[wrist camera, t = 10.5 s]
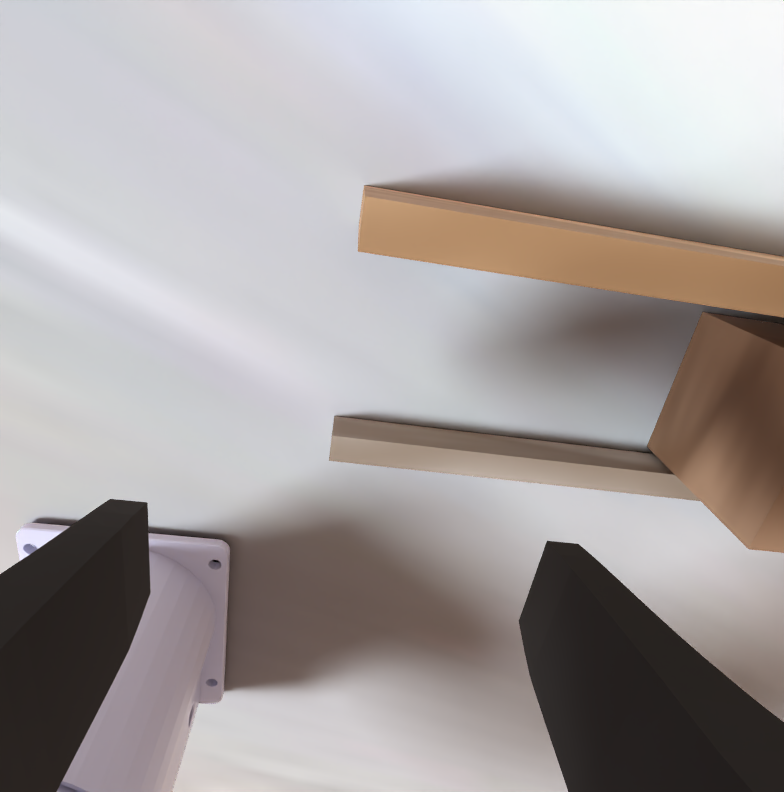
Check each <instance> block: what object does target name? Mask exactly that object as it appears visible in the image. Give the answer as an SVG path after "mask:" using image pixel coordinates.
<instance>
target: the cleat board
mask: <svg viewBox="0 0 784 792" xmlns="http://www.w3.org/2000/svg"><path fill="white" fill-rule="evenodd" d="M358 251H359V252H365V253H371V254H378V255H384V256H391V257H397V258H404V259H410V260H417V261H423V262H429V263H436V264H442V265H449V266H455V267H462V268H468V269H475V270H481V271H487V272H494V273H500V274H507V275H513V276H520V277H526V278H533V279H539V280H545V281H552V282H558V283H565V284H571V285H578V286H584V287H591V288H597V289H604V290H610V291H616V292H623V293H629V294H636V295H642V296H649V297H655V298H662V299H668V300H674V301H681V302H687V303H694V304H700V305H707V306H713V307H720V308H726V309H732V310H739V311H745V312H752V313H758V314H765V315H771V316H778V317H784V257H783V256H777V255H771V254H765V253H759V252H753V251H748V250H742V249H736V248H730V247H724V246H718V245H712V244H706V243H700V242H695V241H689V240H683V239H677V238H671V237H665V236H659V235H653V234H647V233H642V232H636V231H630V230H624V229H618V228H612V227H606V226H600V225H594V224H589V223H583V222H577V221H571V220H565V219H559V218H553V217H547V216H541V215H536V214H530V213H524V212H518V211H512V210H506V209H500V208H494V207H488V206H482V205H477V204H471V203H465V202H459V201H453V200H447V199H441V198H435V197H429V196H424V195H418V194H412V193H406V192H400V191H394V190H388V189H382V188H376V187H371V186H365V185H364V190H363V198H362V205H361V213H360V221H359V235H358ZM329 461H337V462H347V463H356V464H365V465H374V466H383V467H393V468H402V469H411V470H420V471H429V472H439V473H448V474H457V475H466V476H475V477H485V478H494V479H503V480H512V481H521V482H530V483H540V484H549V485H558V486H567V487H576V488H586V489H595V490H604V491H613V492H622V493H632V494H641V495H650V496H659V497H668V498H678V499H687V500H696V501H700V500H699V499H698V498H697V497H696V496H695V495H694V494H693V493H692V492H691V491H690V490H689V489H688V488H687V487H686V485H685V484H684V483H683V482H682V481H681V480H680V479H679V478H678V477H677V476H676V475H675V474H674V473H673V472H672V471H671V470H670V469H669V468H668V467H667V466H666V465H665V464H664V463H663V462H662V461H661V460H660V459H659V458H658V457H657V456H656V455H655V454H650V453H641V452H633V451H625V450H616V449H608V448H599V447H591V446H582V445H574V444H566V443H557V442H549V441H540V440H532V439H523V438H515V437H507V436H498V435H490V434H481V433H473V432H464V431H456V430H447V429H439V428H431V427H422V426H414V425H405V424H397V423H388V422H380V421H372V420H363V419H355V418H346V417H338V416H334V423H333V431H332V439H331V448H330V457H329Z"/></svg>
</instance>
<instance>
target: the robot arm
mask: <svg viewBox="0 0 784 792" xmlns="http://www.w3.org/2000/svg"><path fill="white" fill-rule="evenodd" d="M16 541H17V547H18V553H19V559H20V561H19V562H18V563H16V564H15V565H13V566H12V567H10V568H9V569H7V570H6V571H4V572H3V573H1V574H0V792H172V790H173V787H174V784H175V780H176V777H177V774H178V770H179V767H180V764H181V760H182V757H183V754H184V750H185V747H186V744H187V740H188V737H189V734H190V730H191V727H192V724H193V720H194V717H195V714H196V710H197V707H198V704H199V703H205V704H215V703H218V702H220V701H221V700H222V697H223V693H224V679H225V656H226V633H227V610H228V586H229V563H230V548H229V545H228V544H227V543H226V542H224V541H222V540H218V539H208V538H197V537H186V536H175V535H164V534H152V533H148V508H147V503H146V502H135V501H125V500H114V499H110V500H108V501H107V502H105V503H104V504H102V505H101V506H99V507H98V508H96V509H95V510H93V511H92V512H90V513H89V514H88V515H86V516H85V517H83V518H82V519H80V520H79V521H77V522H76V523H75V524H73V525H72V526H63V525H52V524H41V523H27V524H24V525H23V526H22V527H21V528H20V529H19V530H18V531H17V533H16ZM31 544H33V545H34V546H36V547H33V546H32V545H31ZM212 560H219V561H220V562H221V563H216V562H213V561H212ZM519 624H520V629H521V635H522V640H523V645H524V651H525V655H526V660H527V664H528V669H529V673H530V677H531V681H532V684H533V687H534V690H535V693H536V696H537V699H538V702H539V705H540V708H541V711H542V714H543V717H544V720H545V724H546V726H547V729H548V732H549V735H550V738H551V741H552V744H553V747H554V750H555V753H556V756H557V759H558V762H559V765H560V768H561V771H562V774H563V777H564V780H565V783H566V786H567V789H568V792H784V722H783V721H781V720H780V719H779V718H777V717H776V716H775V715H773V714H772V713H771V712H770V711H768V710H767V709H766V708H764V707H763V706H762V705H761V704H759V703H758V702H757V701H756V700H754V699H753V698H752V697H751V696H749V695H748V694H747V693H746V692H744V691H743V690H742V689H741V688H740V687H738V686H737V685H736V684H735V683H734V682H732V681H731V680H730V679H729V678H728V677H726V676H725V675H724V674H723V673H722V672H721V671H719V670H718V669H717V668H716V667H715V666H713V665H712V664H711V663H710V662H709V661H707V660H706V659H705V658H704V657H703V656H702V655H700V654H699V653H698V652H697V651H696V650H695V649H694V648H692V647H691V646H690V645H689V644H688V643H687V642H686V641H684V640H683V639H682V638H681V637H680V636H679V635H678V634H677V633H676V632H674V631H673V630H672V629H671V628H670V627H669V626H668V625H667V624H666V623H664V622H663V621H662V620H661V619H660V618H659V617H658V616H657V615H656V614H655V613H654V612H652V611H651V610H650V609H649V608H648V607H647V606H646V605H645V604H644V603H643V602H642V601H641V600H639V599H638V598H637V597H636V596H635V595H634V594H633V593H632V592H631V591H630V590H629V589H628V588H627V587H625V586H624V585H623V584H622V583H621V582H620V581H619V580H618V579H617V578H616V577H615V576H614V575H613V574H612V573H610V572H609V571H608V570H607V569H606V568H605V567H604V566H603V565H602V564H601V563H600V562H598V561H597V560H596V559H595V558H594V557H593V556H592V555H591V554H589V553H588V552H587V551H586V550H585V549H583V548H582V547H581V546H580V545H579V544H573V543H563V542H552V541H547V543H546V545H545V548H544V551H543V554H542V557H541V560H540V562H539V565H538V568H537V571H536V574H535V577H534V580H533V582H532V585H531V588H530V591H529V594H528V597H527V599H526V602H525V605H524V608H523V611H522V614H521V617H520V619H519Z"/></svg>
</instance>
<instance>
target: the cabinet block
mask: <svg viewBox="0 0 784 792" xmlns="http://www.w3.org/2000/svg"><path fill="white" fill-rule="evenodd" d="M647 447H648V448H649V449H650V450H651V451H652V452H653V453H654V454H655V455H656V456H657V457H658V458H659V459H660V460H661V461H662V462H663V463H664V464H665V465H666V466H667V467H668V468H669V469H670V470H671V471H672V472H673V473H674V474H675V475H676V476H677V477H678V478H679V479H680V480H681V481H682V482H683V483H684V484H685V485H686V487H687V488H688V489H689V490H690V491H691V492H692V493H693V494H694V495H695V496H696V497H697V498H698V499H699V500H700V501H701V502H702V503H703V504H704V505H705V506H706V507H707V508H708V509H709V510H710V511H711V512H712V513H713V514H714V515H715V516H716V517H717V518H718V519H719V520H720V521H721V522H722V523H723V524H724V525H725V526H726V527H727V528H728V529H729V530H730V531H731V532H732V533H733V534H734V535H735V536H736V537H737V538H738V539H739V540H740V541H741V542H742V543H743V544H744V545H745V546H746V547H747V548H748V549H752V550H762V551H772V552H782V553H784V324H778V323H772V322H765V321H759V320H752V319H746V318H740V317H733V316H727V315H720V314H714V313H707V312H702V314H701V317H700V319H699V321H698V324H697V326H696V329H695V331H694V334H693V336H692V338H691V341H690V343H689V346H688V348H687V351H686V353H685V355H684V358H683V360H682V363H681V365H680V367H679V370H678V372H677V375H676V377H675V380H674V382H673V384H672V387H671V389H670V392H669V394H668V397H667V399H666V401H665V404H664V406H663V409H662V411H661V414H660V416H659V418H658V421H657V423H656V426H655V428H654V431H653V433H652V435H651V438H650V440H649V443H648V445H647Z"/></svg>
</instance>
